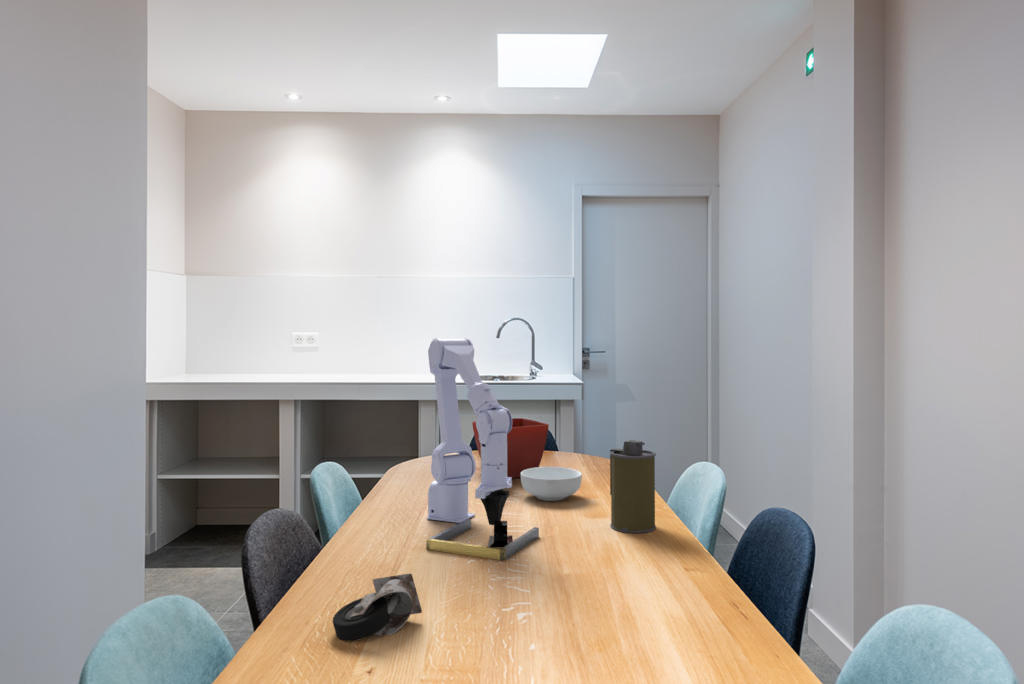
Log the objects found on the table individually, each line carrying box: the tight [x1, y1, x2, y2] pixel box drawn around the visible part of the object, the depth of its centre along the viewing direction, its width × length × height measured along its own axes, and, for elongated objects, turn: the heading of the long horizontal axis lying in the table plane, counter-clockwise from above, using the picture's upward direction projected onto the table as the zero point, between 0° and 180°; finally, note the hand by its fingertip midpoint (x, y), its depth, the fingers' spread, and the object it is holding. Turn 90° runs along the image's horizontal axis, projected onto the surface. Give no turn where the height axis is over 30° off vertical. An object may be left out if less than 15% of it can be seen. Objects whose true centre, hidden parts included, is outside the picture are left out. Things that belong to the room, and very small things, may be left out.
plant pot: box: [471, 417, 549, 479], centre depth 220 cm, size 19×19×17 cm
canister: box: [609, 439, 657, 534], centre depth 158 cm, size 11×10×20 cm
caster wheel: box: [332, 573, 423, 642], centre depth 102 cm, size 7×11×10 cm
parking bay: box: [425, 518, 540, 562], centre depth 146 cm, size 18×18×2 cm
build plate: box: [487, 520, 514, 548], centre depth 147 cm, size 12×7×5 cm, turn 1°
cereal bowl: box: [520, 466, 583, 502], centre depth 188 cm, size 17×17×7 cm
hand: (494, 524), depth 151 cm, fingers closed
